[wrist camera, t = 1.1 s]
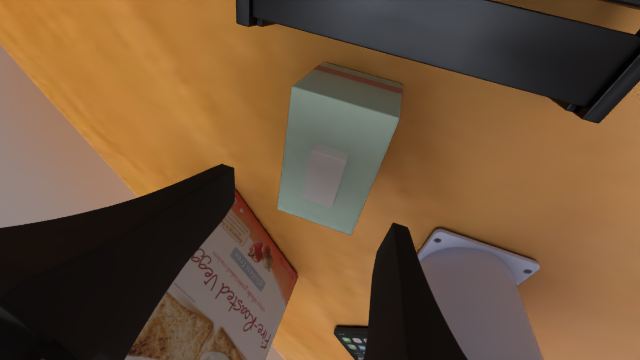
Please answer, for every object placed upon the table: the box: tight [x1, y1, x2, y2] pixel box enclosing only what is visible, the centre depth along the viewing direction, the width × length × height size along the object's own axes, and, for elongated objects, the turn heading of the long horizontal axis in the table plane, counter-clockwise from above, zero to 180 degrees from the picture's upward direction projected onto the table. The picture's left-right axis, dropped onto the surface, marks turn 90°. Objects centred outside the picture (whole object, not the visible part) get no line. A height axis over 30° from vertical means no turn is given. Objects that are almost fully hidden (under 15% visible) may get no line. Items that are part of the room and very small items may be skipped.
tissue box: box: [277, 62, 403, 235], centre depth 15 cm, size 8×5×6 cm, turn 169°
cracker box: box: [125, 190, 298, 360], centre depth 20 cm, size 14×6×21 cm, turn 27°
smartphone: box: [334, 327, 368, 360], centre depth 36 cm, size 7×1×15 cm
